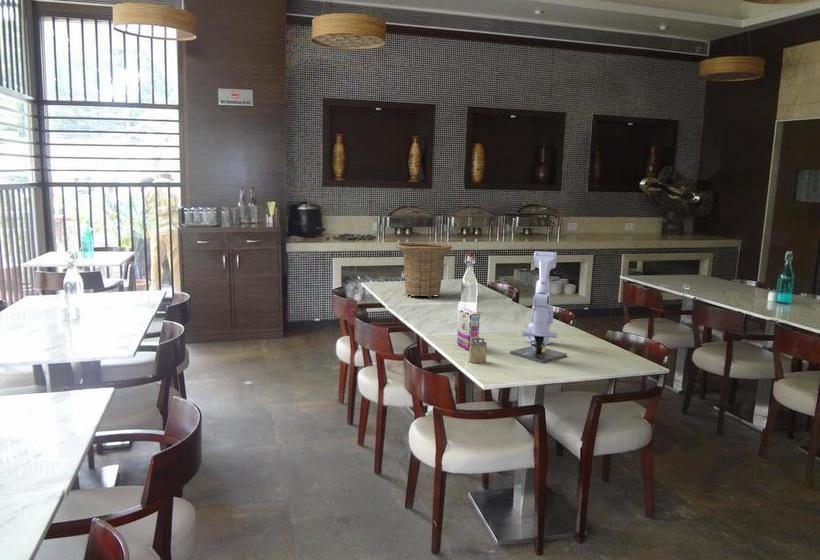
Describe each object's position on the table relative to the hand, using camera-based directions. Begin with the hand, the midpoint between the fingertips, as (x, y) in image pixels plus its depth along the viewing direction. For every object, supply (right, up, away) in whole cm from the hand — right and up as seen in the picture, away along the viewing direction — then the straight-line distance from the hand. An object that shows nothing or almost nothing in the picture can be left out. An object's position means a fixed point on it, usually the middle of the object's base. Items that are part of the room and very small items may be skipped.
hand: (538, 353), depth 259 cm
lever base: (+1, -1, +6) cm, 6 cm away
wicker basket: (-46, +20, +138) cm, 147 cm away
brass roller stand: (+1, 0, +4) cm, 5 cm away
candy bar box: (-28, +1, +15) cm, 32 cm away
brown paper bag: (-26, -3, -7) cm, 27 cm away
